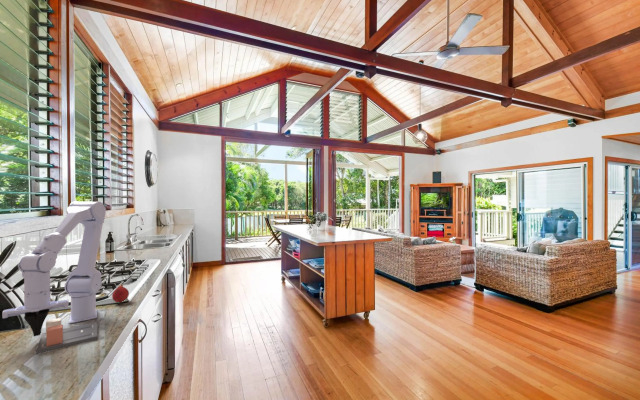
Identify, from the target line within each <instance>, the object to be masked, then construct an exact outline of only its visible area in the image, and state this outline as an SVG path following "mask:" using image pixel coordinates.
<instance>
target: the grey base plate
mask: <svg viewBox="0 0 640 400" xmlns="http://www.w3.org/2000/svg"><path fill="white" fill-rule="evenodd" d="M97 340H98V321H95V322H90V323H86V324H80V325H75V326H71V327H67V328H63V341H62V343H58V344H54V345H50V346H47V338H46V332H43V333H42V332H41V335H40V339H39V340H38V344H37V346H36V349H35V355H39V354H43V353H48V352H52V351H56V350H62V349H64V348H68V347H73V346H77V345H80V344H86V343H90V342H93V341H97Z"/></svg>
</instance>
